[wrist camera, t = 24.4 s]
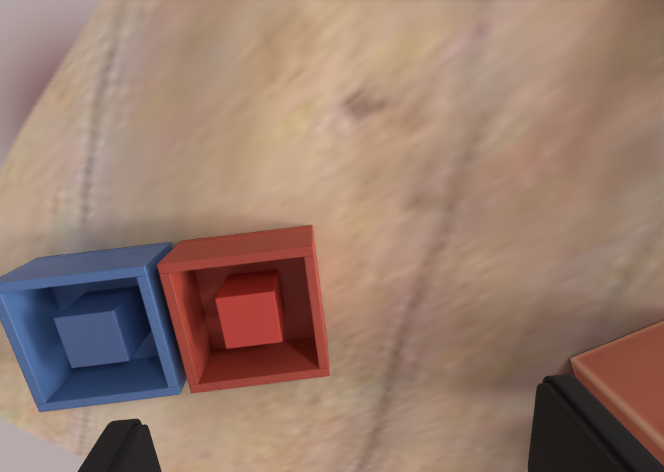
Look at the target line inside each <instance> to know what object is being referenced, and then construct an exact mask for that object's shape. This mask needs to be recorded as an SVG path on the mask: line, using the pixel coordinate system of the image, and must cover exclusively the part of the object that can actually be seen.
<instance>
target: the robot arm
mask: <svg viewBox="0 0 664 472" xmlns="http://www.w3.org/2000/svg"><path fill="white" fill-rule="evenodd" d="M78 472H161V468H160V465H159V461H158V458H157V455H156V451H155V448H154V444H153V441H152V438H151V434H150V431H149V428H148V426H147V425H142V423H141V421H140V420H139V419H128V420H118V421H112V422H110V423H109V424H108V425H107V426H106V428H105V429H104V431H103V433H102V434H101V436H100V437H99V439H98V440H97V442H96V444H95V445H94V447H93V448H92V450H91V451H90V453H89V455H88V456H87V458H86V459H85V461H84V463H83V464H82V466H81V467H80V469H79V470H78ZM528 472H664V466H663V465H662V464H661V463H660V462H659V461H658V460H657V459H656V458H655V457H654V456H653V455H652V454H651V453H650V452H649V451H648V450H647V449H646V448H645V447H644V446H643V445H642V444H641V443H640V442H639V441H638V440H637V439H636V438H635V437H634V436H633V435H632V434H631V433H630V432H629V431H628V430H627V429H626V428H625V427H624V426H623V425H622V424H621V423H620V422H619V421H618V420H617V419H616V417H615V416H614V415H613V414H612V413H611V412H610V411H609V410H608V409H607V408H606V407H605V406H604V405H603V404H602V403H601V402H600V401H599V400H598V399H597V398H596V397H595V396H594V395H593V394H592V393H591V392H590V391H589V390H588V389H587V388H586V387H585V386H584V385H583V384H582V383H581V382H580V381H579V380H578V379H577V378H576V377H574V376H573V375H571V374H564V375H555V376H547V377H545V378H544V379H543V382H542V383H540V384H538V386H537V390H536V399H535V408H534V416H533V425H532V434H531V442H530V451H529V460H528Z"/></svg>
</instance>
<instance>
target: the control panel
mask: <svg viewBox="0 0 664 472" xmlns="http://www.w3.org/2000/svg"><path fill="white" fill-rule="evenodd" d="M570 361H571V364H572V367H573V371H574V374H575V377H576V378H577V379H578V380H579V381H580V382H581V383H582V384H583V385H584V386H585V387H586V388H587V389H588V390H589V391H590V392H591V393H592V394H593V395H594V396H595V397H596V398H597V399H598V400H599V401H600V402H601V403H602V404H603V405H604V406H605V407H606V408H607V409H608V410H609V411H610V412H611V413H612V414H613V415H614V416H615V417H616V419H617V420H618V421H619V422H620V423H621V424H622V425H623V426H624V427H625V428H626V429H627V430H628V431H629V432H630V433H631V434H632V435H633V436H634V437H635V438H636V439H637V440H638V441H639V442H640V443H641V444H642V445H643V446H644V447H645V448H646V449H647V450H648V451H649V452H650V453H651V454H652V455H653V456H654V457H655V458H656V459H657V460H658V461H659V462H660V463H661V464H662V465H663V466H664V321H661V322H659V323H656V324H654V325H651V326H649V327H646V328H644V329H641V330H639V331H636V332H634V333H631V334H629V335H626V336H624V337H621V338H619V339H616V340H614V341H611V342H609V343H606V344H604V345H601V346H599V347H596V348H594V349H591V350H589V351H586V352H584V353H581V354H579V355H576V356H574V357H571V358H570Z"/></svg>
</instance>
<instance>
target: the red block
mask: <svg viewBox="0 0 664 472" xmlns="http://www.w3.org/2000/svg"><path fill="white" fill-rule="evenodd" d="M215 300H216V305H217V309H218V314H219V318H220V323H221V327H222V332H223V336H224V341H225V345H226V349H229V348H237V347H245V346H253V345H262V344H270V343H278V342H282V340H283V332H284V324H285V315H286V313H285V307H284V301H283V294H282V288H281V282H280V276H279V270H278V269H275V270H267V271H258V272H250V273H242V274H233V275H227V277H226V279H225V281H224V283H223V284H222V286H221V288H220V290H219V292H218V294H217V296H216V298H215Z"/></svg>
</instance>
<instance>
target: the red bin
mask: <svg viewBox="0 0 664 472" xmlns="http://www.w3.org/2000/svg"><path fill="white" fill-rule="evenodd" d="M157 266H158V270H159V273H160V278H161V282H162V286H163V289H164V293H165V297H166V301H167V304H168V308H169V312H170V316H171V319H172V323H173V327H174V331H175V334H176V338H177V342H178V346H179V349H180V353H181V357H182V361H183V364H184V368H185V372H186V376H187V379H188V383H189V387H190V391H191V393H197V392H205V391H213V390H221V389H229V388H237V387H245V386H253V385H261V384H269V383H276V382H284V381H292V380H300V379H308V378H316V377H324V376H330V372H329V359H328V346H327V335H326V327H325V319H324V312H323V304H322V296H321V288H320V280H319V272H318V265H317V257H316V249H315V241H314V233H313V226H312V225H311V226H302V227H294V228H285V229H277V230H268V231H260V232H251V233H243V234H234V235H226V236H218V237H209V238H201V239H192V240H184V241H180V242H179V244H178V245H177V246H176V247H174V248H173V249H172V250H171V251H170V252H169V253H168V254H167V255H166V256H165V257H164V258H163V259H162V260H161V261H160V262H159V263H158V264H157ZM275 269H278V270H279V276H280V282H281V288H282V294H283V301H284V307H285V313H286V315H285V324H284V332H283V340H282V342H278V343H270V344H262V345H253V346H245V347H237V348H229V349H226V345H225V341H224V336H223V332H222V327H221V323H220V318H219V314H218V309H217V305H216V300H215V298H216V296H217V294H218V292H219V290H220V288H221V286H222V284H223V283H224V281H225V279H226V277H227V275H233V274H242V273H250V272H258V271H267V270H275Z"/></svg>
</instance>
